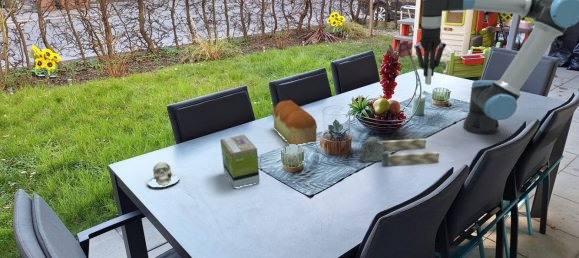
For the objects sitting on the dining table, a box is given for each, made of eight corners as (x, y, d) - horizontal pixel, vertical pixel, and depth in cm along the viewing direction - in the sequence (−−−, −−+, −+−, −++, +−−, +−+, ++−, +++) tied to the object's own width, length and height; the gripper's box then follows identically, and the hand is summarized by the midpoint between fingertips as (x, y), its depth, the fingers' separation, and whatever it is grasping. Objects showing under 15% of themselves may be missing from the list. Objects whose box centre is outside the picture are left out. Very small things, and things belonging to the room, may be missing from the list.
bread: (317, 143, 189) (317, 112, 184) (291, 148, 186) (290, 116, 180) (297, 126, 211) (296, 97, 206) (273, 130, 208) (271, 101, 202)
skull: (183, 183, 156) (160, 168, 151) (164, 203, 156) (141, 188, 152) (181, 169, 166) (160, 154, 162) (164, 187, 167) (142, 173, 163)
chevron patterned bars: (424, 147, 181) (425, 135, 179) (438, 162, 166) (439, 150, 164) (373, 150, 180) (373, 138, 178) (383, 166, 165) (383, 153, 163)
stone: (374, 140, 164) (376, 130, 173) (354, 154, 168) (357, 143, 177) (390, 158, 165) (390, 147, 174) (369, 171, 169) (371, 160, 178)
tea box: (223, 173, 165) (219, 138, 159) (247, 168, 168) (245, 133, 163) (234, 190, 152) (230, 152, 146) (260, 184, 155) (258, 147, 150)
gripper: (442, 24, 175) (439, 80, 183) (411, 27, 174) (409, 82, 182) (450, 26, 168) (446, 84, 176) (418, 29, 167) (416, 87, 175)
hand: (427, 83), depth 179 cm, fingers closed
